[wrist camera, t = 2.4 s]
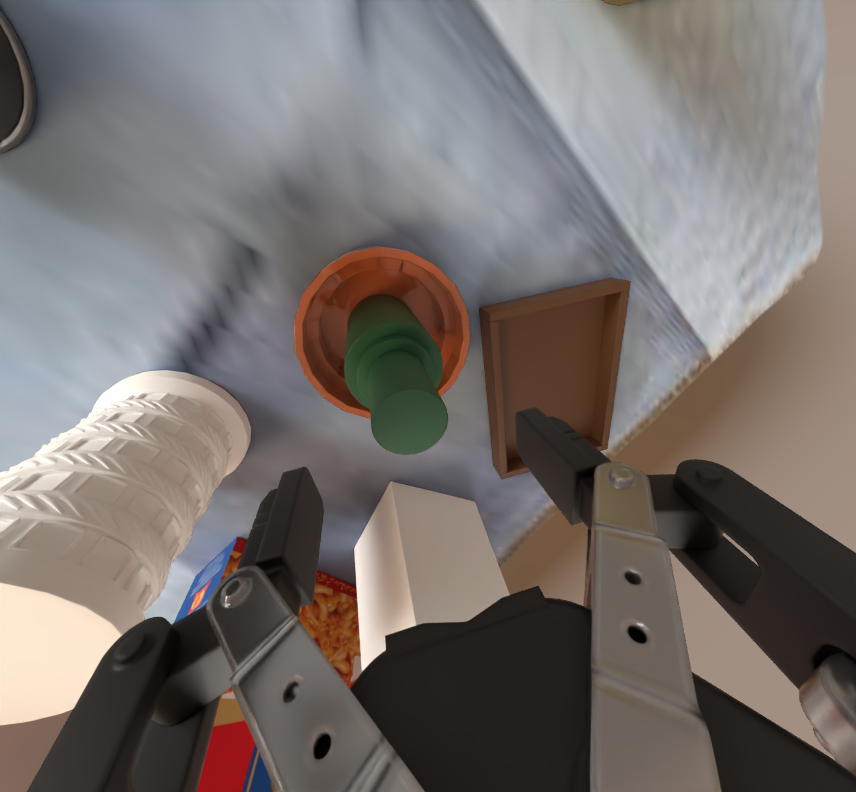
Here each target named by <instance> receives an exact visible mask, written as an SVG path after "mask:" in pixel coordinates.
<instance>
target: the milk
mask: <svg viewBox="0 0 856 792" xmlns="http://www.w3.org/2000/svg"><path fill="white" fill-rule="evenodd" d="M354 554H355V570H356V586H357V602H358V618H359V634H360V650H361V667H362V671H363V670H364V669H365V668H366V667H367V666H368V665H369V664H370V663H371V662H372V661H373V660H374V659H375V658H376V657H377V656H379V655H380V654H381V653H382V652H384V651H385V650H386V644H385V635H389V634H392V633H395V632H398V631H401V630H404V629H407V628H410V627H413V626H416V625H419V624H422V623H441V622H466V621H469V620H470V619H472V618H473V617H475V616H476V615H478V614H479V613H481V612H482V611H483V610H485V609H486V608H488V607H489V606H491V605H492V604H494V603H495V602H496V601H498V600H499V599H501V598H502V597H505V596H509V592H508V589H507V587H506V584H505V581H504V579H503V576H502V573H501V571H500V568H499V565H498V563H497V560H496V557H495V555H494V552H493V549H492V547H491V544H490V541H489V539H488V536H487V533H486V531H485V528H484V525H483V523H482V520H481V517H480V514H479V512H478V509H477V506H476V504H475V501H471V500H466V499H462V498H458V497H454V496H450V495H446V494H442V493H437V492H433V491H429V490H425V489H421V488H417V487H413V486H409V485H404V484H400V483H396V482H392V481H390V483H389V485H388V487H387V489H386V491H385V492H384V494H383V496H382V498H381V500H380V502H379V503H378V505H377V507H376V509H375V511H374V513H373V514H372V516H371V518H370V520H369V522H368V524H367V525H366V527H365V529H364V531H363V533H362V535H361V536H360V538H359V540H358V542H357V544H356V545H355V547H354Z"/></svg>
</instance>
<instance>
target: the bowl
mask: <svg viewBox="0 0 856 792" xmlns="http://www.w3.org/2000/svg"><path fill="white" fill-rule="evenodd" d="M376 294H387V295H391V296H394V297H397V298H398V299H400V300H402V301H403V302H404V303H405V304H406V305H407V306H408V307H409V308H410V310H411V311H412V312H413V313H414V315H415V316H416V317H417V319H418V320H419V321H420V323H421V324H422V325H423V327H424V328H425V329H426V331H427V332H428V333H429V335H430V336H431V337H432V339H433V340H434V341H435V343H436V344H437V346H438V348H439V350H440V353H441V356H442V360H443V373H442V378H441V381H440V384H439V386H438V388H437V391H438V393H439V395H440V397H441V396H442V395H443V394H444V393H445V392H446V391H447V390H448V389H449V388H450V387H451V386H452V385H453V384H454V382H455V381H456V379H457V377H458V375H459V373H460V371H461V369H462V367H463V366H464V364H465V361H466V356H467V352H468V347H469V342H470V329H469V320H468V312H467V309H466V307H465V305H464V302H463V300H462V298H461V296H460V294H459V291H458V289H457V287H456V286H455V285H454V284H453V283H452V281H451V280H450V279H449V278H448V277H447V276H446V275H445V274H444V273H443V272H442V271H441V270H440V269H439V268H438V266H436V265H435V264H433V263H431V262H429V261H427V260H425V259H423V258H421V257H419V256H418V255H416V254H414V253H412V252H409V251H406V250H402V249H397V248H390V247H383V246H377V245H376V246H370V247H365V248H360V249H355V250H350V251H348V252H346V253H345V254H343V255H341V256H340V257H338V258H337V259H335V260H333V261H332V262H330V263H328V264H327V265H326V266H325V267H324V268H323V269H322V270H321V271H320V272H319V274H318V275H317V276H316V277H315V279H314V280H313V281H312V283H311V284H310V285H309V286H308V288H307V289H306V290H305V292H304V293H303V295H302V297H301V301H300V304H299V307H298V310H297V313H296V317H295V320H294V341H295V352H296V355H297V357H298V360H299V362H300V365H301V367H302V370H303V372H304V375H305V376H306V378H307V379H308V380H309V382H310V383H311V384H312V385H313V386H314V387H315V389H316V390H317V391H318V392H319V393H320V395H321V396H322V397H323V398H325V399H326V400H328V401H330V402H331V403H333V404H334V405H336V406H337V407H339V408H340V409H342V410H343V411H346V412H349V413H353V414H356V415H359V416H363V417H366V418H371V415H370V409H368V408H367V407H365V406H363V405H362V404H361V403H359V402H358V401H357V400H356V399H355V397H354V396H353V395H352V394H351V392H350V390H349V388H348V386H347V384H346V380H345V374H344V364H345V352H346V340H347V328H348V320H349V317H350V314H351V312H352V310H353V309H354V307H355V306H356V305H357V304H358V303H359V302H360V301H361V300H363V299H365V298H366V297H369V296H372V295H376Z"/></svg>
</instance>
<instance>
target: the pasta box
mask: <svg viewBox="0 0 856 792" xmlns="http://www.w3.org/2000/svg"><path fill="white" fill-rule="evenodd" d="M246 542H247V541H246V540H244V539H242V538H239V537H237V538H236V539H235V540H234V541H233V542H232V543H231V544H229V545H228V546H227V547H226V548H225V549H224V550H223V551H222V552H221V553H220V554H219V555H218V556H217V557H216V558H215V559H214V560H213V561H212V562H211V563H209V564H208V565H207V566H206V567H205V568H204V569H203V570H202V571H201V572H200V573H199V574H198V575H197V576H196V577H195V579H194V581H193V583H192V585H191V588H190V590H189V592H188V594H187V596H186V598H185V600H184V602H183V605H182V607H181V609H180V611H179V613H178V615H177V617H176V620H175V622H177V621H179V620H180V619H182V618H184V617H186V616H187V615H189V614H191V613H193V612H194V611H196V610H198V609H200V608H201V607H203V606H205V605H206V604H207V603H208V600H209V598H210V596H211V594H212V592H213V591H214V589H215V588H216V587H217V586H218V585H219V584H220V583H221V582H222V581H223V580H224V579H225V578H226V577H227V576H229V575H230V574H231V573H233V572H235V571H236V570H237V567H238V565H239V562H240V559H241V556H242V554H243V551H244V548H245V545H246ZM298 619H299V620H300V622H301V623H302V624H303V626H304V627H305V629H306V630H307V631H308V633H309V634H310V635H311V637H312V638H313V639H314V641H315V642H316V644H317V645H318V646H319V648H320V649H321V650H322V652H323V653H324V655H325V656H326V657H327V659H328V660H329V661H330V663H331V664H332V666H333V667H334V668H335V670H336V671H337V672H338V674H339V675H340V676H341V678H342V679H343V681H344V682H345V683H346V685H347V686H348V687H349V689H350V688H351V687H352V685H353V684H354V682H355V681H356V679H357V678H358V677H359V675H360V674H361V673H362V667H361V650H360V634H359V618H358V602H357V586H355V585H353V584H350V583H348V582H345V581H343V580H341V579H338V578H336V577H333V576H331V575H329V574H326V573H324V572H321V571H319V570H317V575H316V583H315V592H314V600H313V604H310V605H306V606H303V607H300V611H299V617H298ZM175 622H174V623H175ZM197 792H276V790H275V788H274V786H273V783H272V781H271V779H270V777H269V774H268V772H267V770H266V767H265V765H264V763H263V760H262V758H261V756H260V753H259V751H258V749H257V746H256V744H255V742H254V739H253V737H252V735H251V732H250V730H249V728H248V725H247V723H246V721H245V718H244V716H243V714H242V711H241V709H240V707H239V704H238V702H237V700H236V697H235V695H234V693H233V690H232V688H229V689H228V690H227V691H225V692H224V693H222V694H221V697H220V701H219V705H218V709H217V713H216V717H215V721H214V725H213V729H212V733H211V737H210V741H209V745H208V749H207V753H206V757H205V761H204V765H203V769H202V773H201V777H200V781H199V785H198V789H197Z"/></svg>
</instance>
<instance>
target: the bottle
mask: <svg viewBox="0 0 856 792" xmlns="http://www.w3.org/2000/svg"><path fill="white" fill-rule="evenodd" d="M442 373H443V360H442V356H441V353H440V350H439V348H438V346H437V344H436V343H435V341H434V340H433V339H432V337H431V336H430V335H429V333H428V332H427V331H426V329H425V328H424V327H423V325H422V324H421V323H420V321H419V320H418V319H417V317H416V316H415V315H414V313H413V312H412V311H411V310H410V308H409V307H408V306H407V305H406V304H405V303H404V302H403V301H402V300H400V299H398V298H397V297H394V296H391V295H387V294H376V295H372V296H369V297H366V298H365V299H363V300H361V301H360V302H359V303H358V304H357V305H356V306H355V307H354V309H353V310H352V312H351V314H350V317H349V320H348V328H347V340H346V352H345V364H344V374H345V380H346V384H347V386H348V388H349V390H350V392H351V394H352V395H353V396H354V397H355V399H356V400H357V401H358V402H359V403H361V404H362V405H363V406H365V407H367V408H368V409H370V415H371V427H372V432H373V435H374V437H375V439H376V441H377V442H378V443H379V444H380V445H381V446H382V447H383V448H385V449H386V450H388V451H390V452H393V453H396V454H403V455H409V454H416V453H419V452H422V451H425V450H427V449H429V448H430V447H432V446H433V445H434V444H436V443H437V442H438V441H439V439H440V438H441V437H442V435H443V434H444V432H445V430H446V427H447V422H448V413H447V409H446V407H445V405H444V403H443V401H442V399H441V397H440V395H439V393H438V391H437V388H438V386H439V384H440V381H441V378H442Z"/></svg>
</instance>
